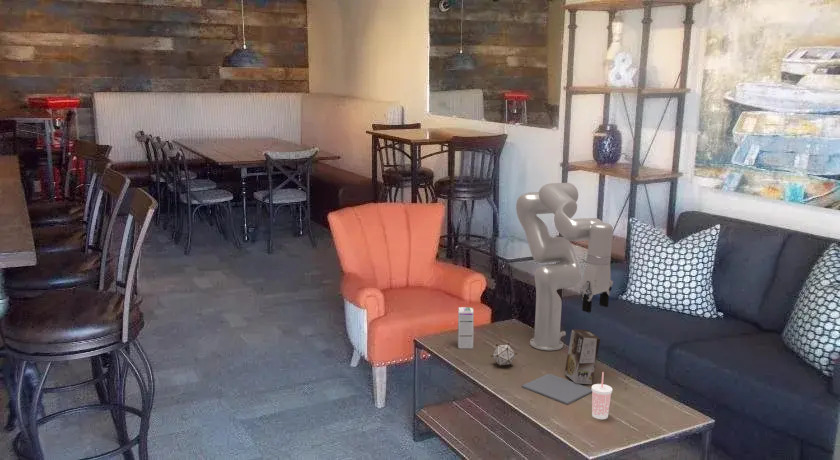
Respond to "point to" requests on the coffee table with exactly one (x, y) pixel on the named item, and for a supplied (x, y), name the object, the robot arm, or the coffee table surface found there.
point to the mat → (557, 388)
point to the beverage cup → (601, 400)
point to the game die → (503, 354)
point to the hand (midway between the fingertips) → (595, 308)
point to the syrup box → (465, 327)
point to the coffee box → (582, 356)
